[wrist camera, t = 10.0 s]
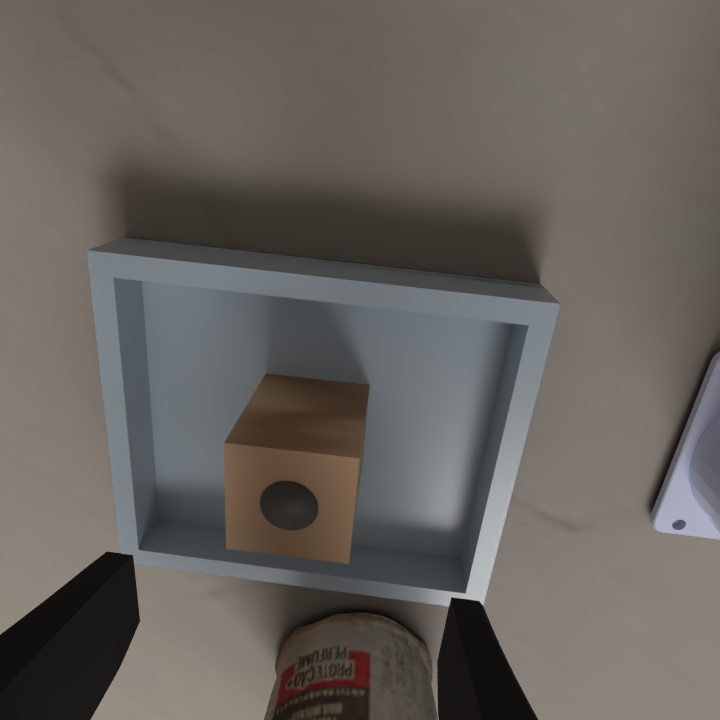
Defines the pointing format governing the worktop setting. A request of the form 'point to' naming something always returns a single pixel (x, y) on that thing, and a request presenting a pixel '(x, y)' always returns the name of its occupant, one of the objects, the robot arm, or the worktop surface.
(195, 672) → the worktop surface
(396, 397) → the slate tray
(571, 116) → the worktop surface
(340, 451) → the tan wooden block
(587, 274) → the worktop surface
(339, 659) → the spray can
